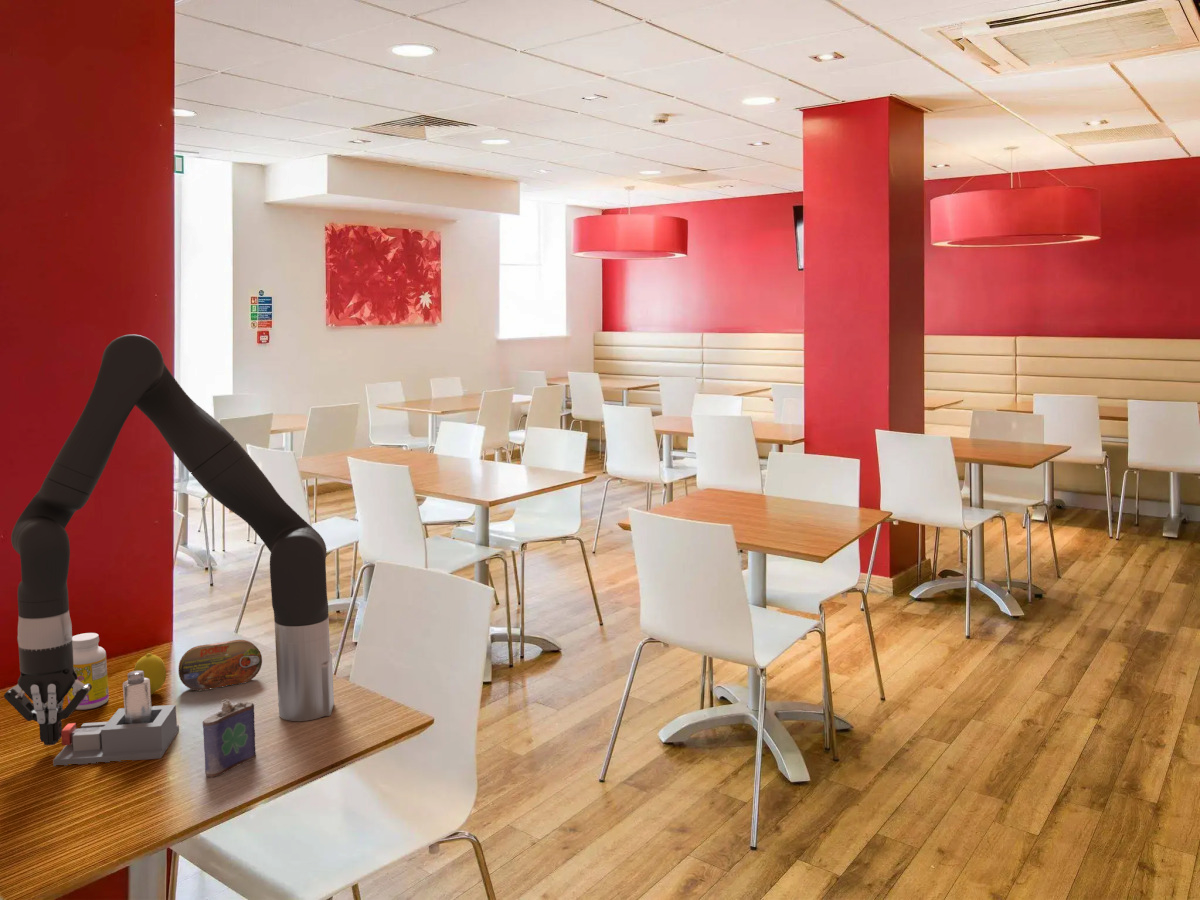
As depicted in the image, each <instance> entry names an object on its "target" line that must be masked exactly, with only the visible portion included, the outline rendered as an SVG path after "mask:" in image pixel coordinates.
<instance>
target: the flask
mask: <svg viewBox="0 0 1200 900" xmlns="http://www.w3.org/2000/svg"><path fill="white" fill-rule="evenodd" d="M219 704H222V707H221V708H220V711H218V712H216V713H214V714H213V715H210V716H208V717H206V718H205V719H203V720H202V730H203V733H202V734H203V750H204V767H205V768H204V774H205V776H206V777H207V778H211V779H212V778H214V777H219V776H221V775H224V773H227V772H229V771H232V770H234V769H235V768H237V767H238V766H239V765H243V764H244V763H246V762H249V761H250V760H254V759H255V758H257V754H256V753H257V752H256V731H255V730H256V728H255V704H254V703H253V702H249V701H244V702H242V701H240V702H237V703H235V704H232V702H231V701H230V699H227V698H224V699H222V700H221V701H220V702H219Z"/></svg>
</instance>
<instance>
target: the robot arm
mask: <svg viewBox="0 0 1200 900" xmlns="http://www.w3.org/2000/svg"><path fill="white" fill-rule="evenodd" d="M134 407H136V408H137V409H139V411H141V413H143V414H144V415H145V416H146V418H148V420H150V421H151V423H152V424H153V425H154V426H155V427H156V429H157V430H158V432H160V434H161V435H162V437H163V438H164V440H165V441H166V443H167V444H168V446H169V448H170V449H171V450H172V451H173V453H174V455H176V457H177V458H178V460H179V461H180V462H181V463H182V465H183V466H184V467H185V469H187V471H188V472H189V473H190V474H191V476H193V478H194V479H195V480H196V481H197V482H198V483H199V484H200V485H201V487H202V488H203V489H204V490H205V491H206V492H207V493H208V494H209V495H210V496H211V497H212V498H213V499H215V500H216V501H217V502H218V503H220V504H221V505H222V506H224V507H225V508H226V509H228V510H229V511H231V512H232V513H234V514H235V515H236V516H238V517H239V518H241V519H242V520H243V521H244V522H245V523H247V524H248V526H250V528H251V529H252V530H253V531H254V532H255V533H256V534H257V536H258V537H259V538H260V540H261V541H262V542H263V544H264V545H265V547H266V548H267V549H268V550H269V552H270V555H269V575H270V591H271V592H270V593H271V605H272V611H273V618H274V619H273V620H274V635H275V636H274V641H275V660H276V680H277V684H276V685H277V698H278V699H277V701H278V702H277V703H278V704H277V706H278V715H279V717H280V718H281V719H283V720H285V721H292V722H305V721H312V720H316V719H319V718H322V717H329V716H331V715H332V711H333V708H334V704H335V698H334V697H335V695H334V672H333V671H334V669H333V668H334V667H333V654H332V653H331V646H330V645H331V643H330V638H331V637H330V621H329V620H330V619H329V618H330V617H329V616H330V615H329V602H328V601H329V600H328V588H327V570H326V569H327V568H326V567H327V566H326V565H327V564H326V563H327V560H326V559H327V545H326V543H325V540H324V538H323V537H322V535H321V534H320V533H319V532H318V531H317V530H316V529H315V528H314V527H313V526H311V525H310V524H309V523H308V522H307V521H306V520H305V519H304V518H303V517H302V516H300V514H299V513H297V512H296V511H295V510H294V509H293V508H292V507H291V506H290V505H289V504H288V503H287V502H286V500H285V499H283V498H282V497H281V495H280V494H279V493H278V491H277V490H276V489H275V487H274V486H273V484H272V483H271V482H270V481H269V479H268V478H267V476H266V474H265V473H264V472H263V471H262V470H261V468H260V467H259V466H258V465H257V463H256V462H255V461H254V460H253V458H252V457H251V456H250V454H249V453H248V452H247V451H246V450H245V449H244V448H243V446H242V445H241V444H240V443H239V442H238V440H237V439H235V437H234V436H233V435H232V434H231V433H230V432H229V431H228V430H227V429H226V428H225V427H224V425H222V424H221V423H220V422H218V421H217V419H215V418H214V416H212V415H210V414H209V413H208V412H207V411H206V410H205V409H204V408H202V407H201V406H200V405H198V404H197V403H196V402H195V401H194V400H193V399H192V398H191V397H190V396H189V395H188V394H187V393H186V392H185V390H184V389H183V387H181V385H180V384H179V382H178V381H177V379H176V378H175V377H174V376H173V375H172V373H171V372H170V370H169V368H168V367H167V365H166V364H165V362H164V357H163V353H162V352H161V350H160V348H159V347H158V345H157V344H156V343H155V342H154V341H152V340H151V339H150V338H148V337H146V336H143V335H141V334H136V333H135V334H125V335H121V336H119V337H116V338H115V339H113V340H112V341H111V342H110V343H109V344H108V345H106V347H105V349H104V351H103V353H102V357H101V362H100V366H99V370H98V374H97V377H96V380H95V383H94V386H93V388H92V391H91V393H90V395H89V398H88V400H87V403H86V405H85V406H84V409H83V411H82V412H81V415H80V416H79V418H78V420H77V422H76V423H75V425H74V427H73V428H72V430H71V432H70V434H69V435H68V437H67V438H66V440H65V442H64V444H63V445H62V447H61V449H60V450H59V453H57V456H56V458H55V460H54V461H53V463H52V465H51V466H50V469H49V471H48V472H47V474H46V476H45V478H44V480H43V483H42V484H41V487H40V488H39V490H38V492H36V494H35V495H34V497H32V499H31V500H30V502H29V503H28V504H27V505H26V507H25V508H24V510H23V511H22V512H21V514H20V516H19V517H18V518H17V520H16V523H15V525H14V526H13V529H12V532H11V537H10V541H11V545H12V548H13V549H14V551H15V552H16V553H17V554H18V555H19V559H20V577H21V581H20V582H19V584H18V586H17V611H18V621H17V638H16V639H17V644H18V656H19V657H18V659H19V661H18V662H19V671H20V676H19V677H18V679H17V684H16V685H14V686H12V687H11V688H9V689H8V690H7V691H6V692H5V693H4V695H3V698H4V699H5V700H6V701H7V702H8V703H9V704H10V705H11V706H12V707H13V708H14V709H15V710H16V712H18V713H19V714H20V715H21V716H22V717H23V718H24V720H26V721H27V722H30V721H31V722H32V721H35V722H37V724H38V727H39V739H40V742H43V745H44V746H55V745H56V744H57V743H58V741H60V739H62V736H61V731H62V730H63V724H62V720H67V719H68V718H69V717H70V716H71V715H72V714H73V713H74V712H75V710H77V709H76V708H77V706H78V705H79V704H80V703H81V701H82V700H83V699H84V698H85V696H86V695H87V694H88V692H89V691H90V690H91V689H92V685H91V684H83V683H82V682H80V681H79V680H77V674H76V673H75V671H74V668H73V665H74V662H73V644H72V637H73V630H72V629H73V628H72V627H73V625H72V620H71V616H70V615H71V614H70V604H69V603H70V602H69V589H68V588H69V587H68V577H69V568H70V559H71V558H70V557H71V556H70V555H71V548H70V547H71V546H70V544H71V543H70V537H69V534H68V531H67V530H66V528H67V526H68V524H69V522H70V521H71V519H72V518H73V516H74V514H75V513H76V512H77V511H79V510H81V509H83V508H84V506H85V505H86V504H87V502H88V501H89V499H90V497H91V495H92V493H93V491H94V490H95V488H96V486H97V483H98V482H99V480H100V478H101V476H102V474H103V472H104V470H105V468H106V466H107V464H108V461H109V458H110V456H111V454H112V452H113V450H114V447H115V444H116V442H117V440H118V437H119V435H120V432H121V431H122V428H123V427H124V424H125V422H126V421H127V419H128V417H129V415H130V414H131V412H132V411H133V410H134ZM72 687H73V692H72V694H73V695H74V696H75V697H74V698H73V699H72V700H71V702H70V703H69V704H67V705H66V706H65V708H63V705H64V701H65V697H66V696H68V692H69V690H70V689H71V688H72Z"/></svg>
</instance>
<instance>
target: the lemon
mask: <svg viewBox="0 0 1200 900" xmlns="http://www.w3.org/2000/svg"><path fill="white" fill-rule="evenodd" d="M133 671H143V672H144V678H148V679H149V680H150V692H151V695H154V694H155V692H156V691H158V690H160V689H161V688H162V686H163V685H164V684H165V682H166V678H167V669H166V665H165V663H164V661H163V659H162V658H161V657H160V656H158V655H156V654H152V653H150V652H148V653H146V654H145V655H143V656H141V658H139V659H138V660H137V662H136V663H135V666H134V670H133Z"/></svg>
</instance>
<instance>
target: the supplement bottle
mask: <svg viewBox="0 0 1200 900" xmlns="http://www.w3.org/2000/svg"><path fill="white" fill-rule="evenodd" d="M99 642H100V637H99V634H98V633H96V632H85V633H80V634H79V633H78V634H76V635H72V644H73V662H74V665H73V668H74V671H75V673H76V674H77V680H79V681H80V682H82V683H83V684H91V685H92V689H91V690H90V691H89V692H88V694H87V695H86V696H85V698H84V699H83V700H82V701H81V703H80V704H79V705H78V706H77V708H76V709H75V710H77V711H78V710H81V711H83V710H85V711H86V710H91V709H96V708H99V707H101V706H103V705H105V704H106V703H107V702H108V701H109V698H110V695H109V694H110V692H109V678H108V667H107V665H108V663H107V652H106V650H105V648H103V647H102V646H99ZM72 692H73V687H72V688H71V689H70V690H69V692H68V693H67V702H68V704H69V703H70V702H71V700H72V699H73V698H74V697H75V696H74V695H73V694H72ZM68 704H67V705H68Z"/></svg>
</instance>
